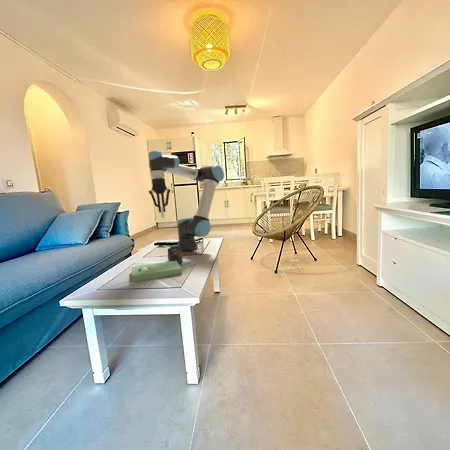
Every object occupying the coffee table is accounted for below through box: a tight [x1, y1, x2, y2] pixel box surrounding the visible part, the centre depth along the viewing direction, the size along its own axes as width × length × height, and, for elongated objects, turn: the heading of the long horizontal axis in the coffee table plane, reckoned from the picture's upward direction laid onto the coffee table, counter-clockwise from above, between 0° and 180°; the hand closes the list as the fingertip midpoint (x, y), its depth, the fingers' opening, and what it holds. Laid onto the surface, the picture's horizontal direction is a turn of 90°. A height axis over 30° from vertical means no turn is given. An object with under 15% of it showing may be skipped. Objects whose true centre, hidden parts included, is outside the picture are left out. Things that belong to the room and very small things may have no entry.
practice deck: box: [131, 260, 183, 283], centre depth 128 cm, size 24×17×3 cm
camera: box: [167, 245, 184, 265], centre depth 148 cm, size 13×10×10 cm
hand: (162, 217), depth 148 cm, fingers closed
